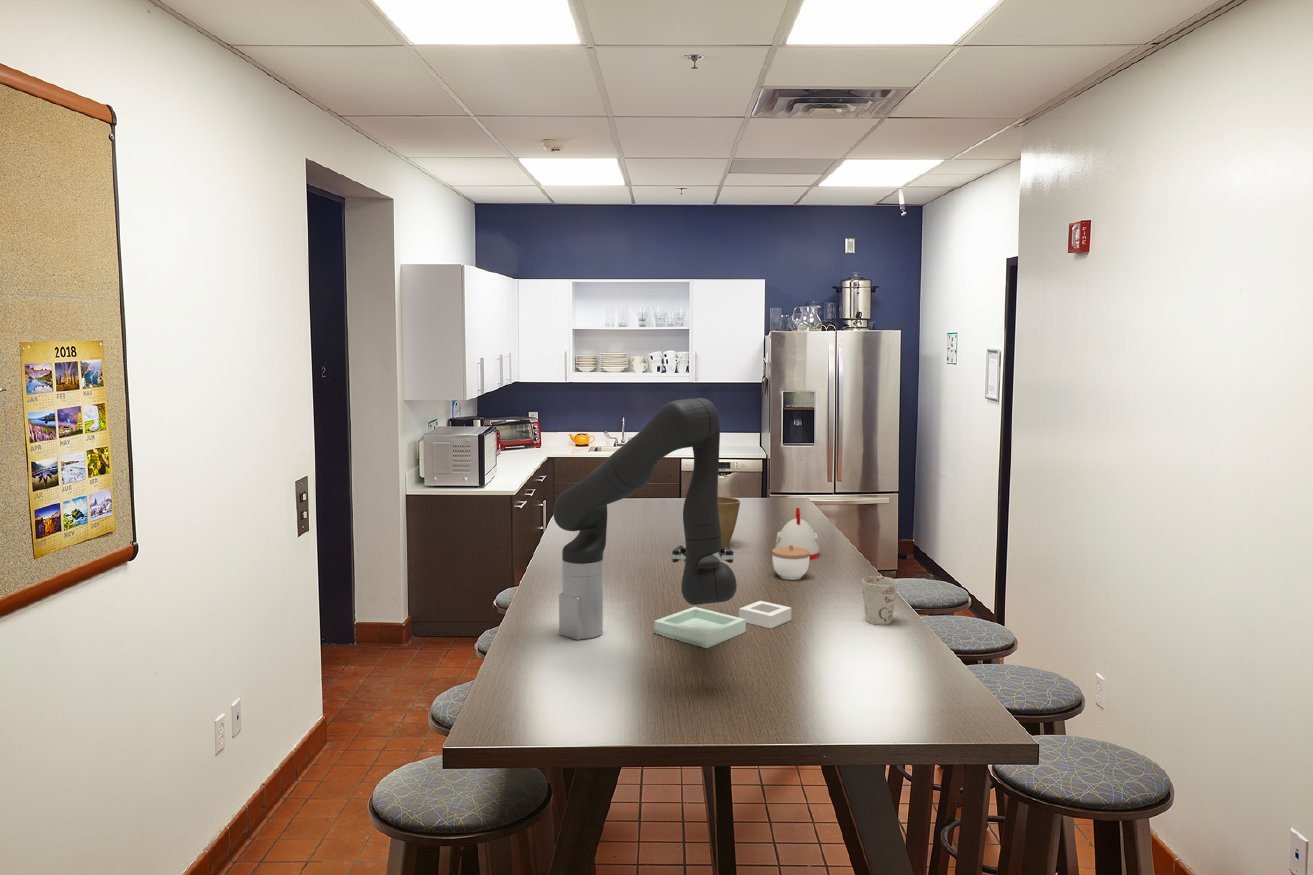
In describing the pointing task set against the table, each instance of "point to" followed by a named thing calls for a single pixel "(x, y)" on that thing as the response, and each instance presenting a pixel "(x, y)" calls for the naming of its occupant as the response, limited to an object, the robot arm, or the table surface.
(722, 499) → the plant pot
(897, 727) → the table surface
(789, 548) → the lidded jar
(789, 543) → the chicken shaped dome
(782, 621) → the holder block
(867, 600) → the mug
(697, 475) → the robot arm
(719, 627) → the tray
